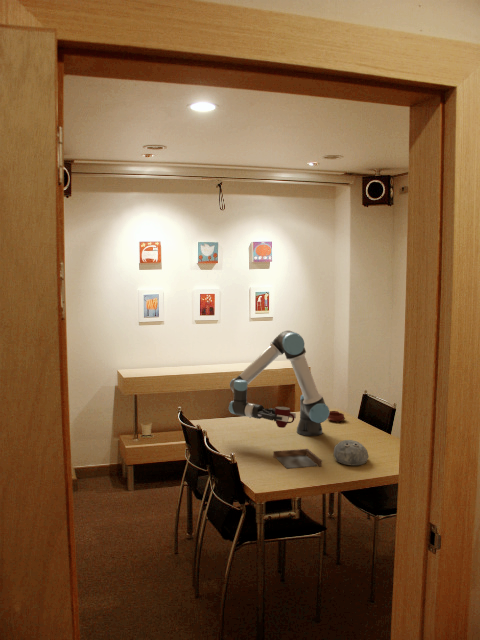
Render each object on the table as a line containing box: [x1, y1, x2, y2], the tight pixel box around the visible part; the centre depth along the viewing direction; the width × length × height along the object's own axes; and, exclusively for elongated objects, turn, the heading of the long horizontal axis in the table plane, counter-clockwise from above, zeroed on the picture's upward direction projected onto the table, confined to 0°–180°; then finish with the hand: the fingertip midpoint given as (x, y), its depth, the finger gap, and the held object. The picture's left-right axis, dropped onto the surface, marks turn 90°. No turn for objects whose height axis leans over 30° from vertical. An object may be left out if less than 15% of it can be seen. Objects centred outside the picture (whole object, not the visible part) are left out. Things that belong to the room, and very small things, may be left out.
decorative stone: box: [333, 439, 370, 466], centre depth 280 cm, size 18×21×10 cm
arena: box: [272, 448, 323, 470], centre depth 278 cm, size 19×19×3 cm
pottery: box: [327, 410, 346, 423], centre depth 360 cm, size 12×20×4 cm, turn 176°
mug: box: [274, 406, 295, 429], centre depth 293 cm, size 10×8×10 cm
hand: (291, 417), depth 290 cm, fingers closed on mug, 8 cm apart
